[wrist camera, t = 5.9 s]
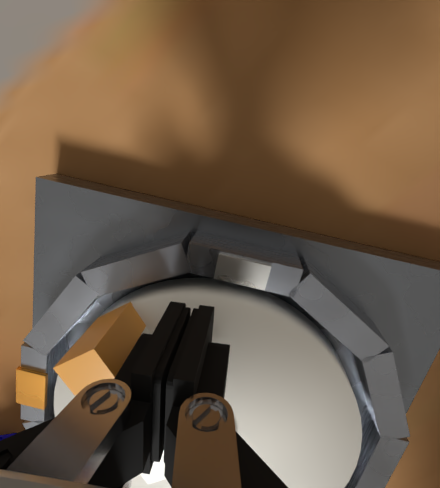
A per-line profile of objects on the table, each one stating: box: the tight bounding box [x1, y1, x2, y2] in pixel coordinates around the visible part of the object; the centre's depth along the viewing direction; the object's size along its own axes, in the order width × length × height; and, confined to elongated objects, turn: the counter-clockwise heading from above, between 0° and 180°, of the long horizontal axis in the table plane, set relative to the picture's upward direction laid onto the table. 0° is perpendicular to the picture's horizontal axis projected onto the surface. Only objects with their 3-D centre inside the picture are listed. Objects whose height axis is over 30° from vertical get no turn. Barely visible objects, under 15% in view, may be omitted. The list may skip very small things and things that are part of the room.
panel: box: [16, 174, 440, 488], centre depth 16 cm, size 19×19×4 cm
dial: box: [53, 278, 362, 488], centre depth 14 cm, size 14×14×5 cm
